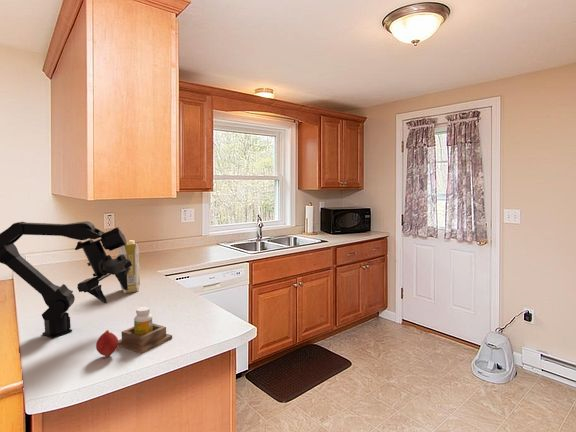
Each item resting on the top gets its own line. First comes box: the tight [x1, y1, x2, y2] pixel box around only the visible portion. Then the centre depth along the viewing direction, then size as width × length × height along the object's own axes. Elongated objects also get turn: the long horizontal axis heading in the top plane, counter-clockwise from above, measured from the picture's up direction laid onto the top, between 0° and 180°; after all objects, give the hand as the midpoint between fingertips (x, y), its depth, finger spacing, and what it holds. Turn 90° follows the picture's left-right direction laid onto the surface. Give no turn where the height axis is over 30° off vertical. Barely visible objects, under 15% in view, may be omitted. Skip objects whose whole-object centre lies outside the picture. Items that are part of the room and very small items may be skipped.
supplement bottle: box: [133, 306, 153, 335], centre depth 112 cm, size 5×5×10 cm
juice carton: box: [118, 239, 141, 294], centre depth 167 cm, size 9×8×24 cm
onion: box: [95, 329, 119, 358], centre depth 103 cm, size 6×6×8 cm
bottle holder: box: [118, 322, 173, 354], centre depth 113 cm, size 12×12×4 cm
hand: (116, 296), depth 124 cm, fingers open, 9 cm apart
